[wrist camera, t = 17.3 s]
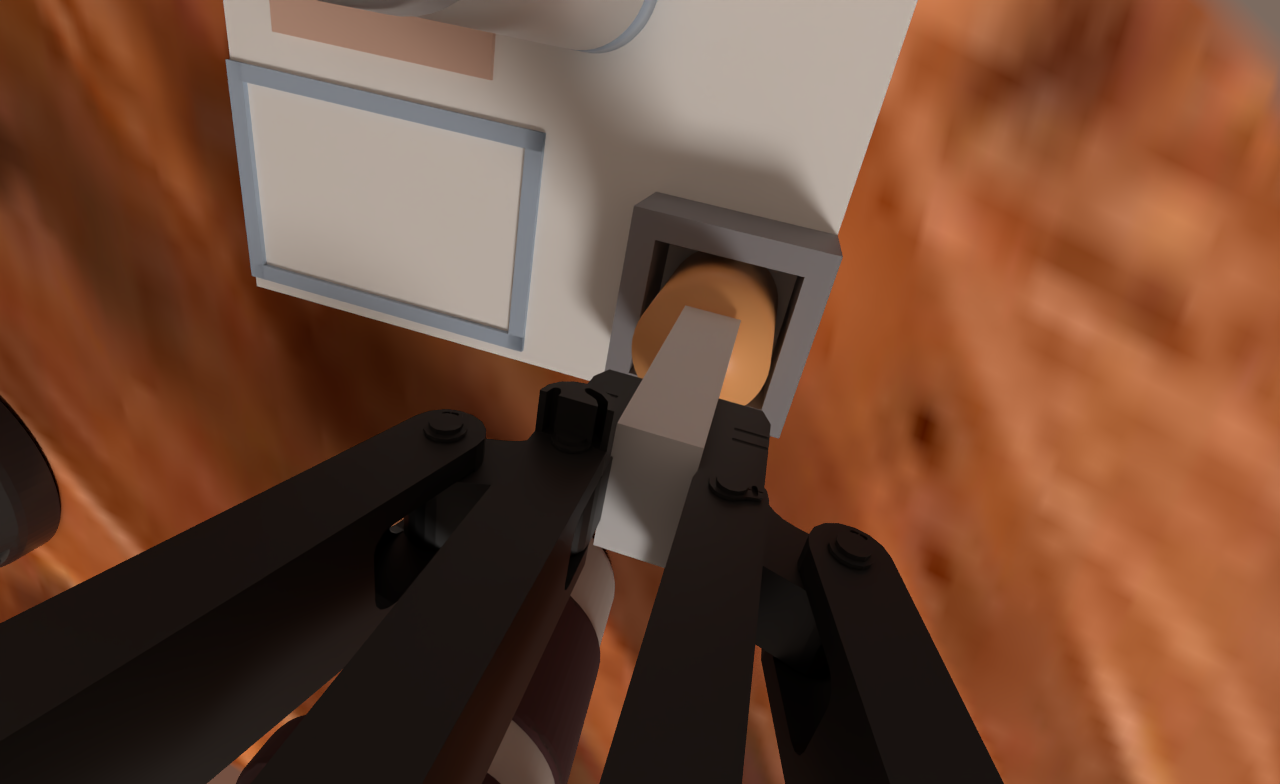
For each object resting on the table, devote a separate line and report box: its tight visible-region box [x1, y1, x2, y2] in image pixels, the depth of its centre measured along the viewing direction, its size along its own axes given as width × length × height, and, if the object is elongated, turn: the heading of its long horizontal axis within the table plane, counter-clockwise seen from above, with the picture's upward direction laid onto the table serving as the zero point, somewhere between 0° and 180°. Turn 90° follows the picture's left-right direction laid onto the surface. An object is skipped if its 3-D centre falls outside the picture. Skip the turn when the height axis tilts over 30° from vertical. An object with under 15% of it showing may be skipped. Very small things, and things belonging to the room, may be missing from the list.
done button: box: [632, 251, 778, 406], centre depth 19 cm, size 4×4×5 cm
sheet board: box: [223, 0, 917, 438], centre depth 19 cm, size 22×16×4 cm
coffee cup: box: [236, 538, 615, 784], centre depth 23 cm, size 10×10×15 cm
